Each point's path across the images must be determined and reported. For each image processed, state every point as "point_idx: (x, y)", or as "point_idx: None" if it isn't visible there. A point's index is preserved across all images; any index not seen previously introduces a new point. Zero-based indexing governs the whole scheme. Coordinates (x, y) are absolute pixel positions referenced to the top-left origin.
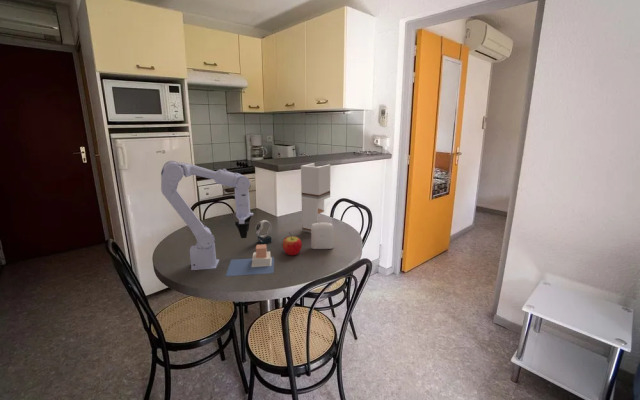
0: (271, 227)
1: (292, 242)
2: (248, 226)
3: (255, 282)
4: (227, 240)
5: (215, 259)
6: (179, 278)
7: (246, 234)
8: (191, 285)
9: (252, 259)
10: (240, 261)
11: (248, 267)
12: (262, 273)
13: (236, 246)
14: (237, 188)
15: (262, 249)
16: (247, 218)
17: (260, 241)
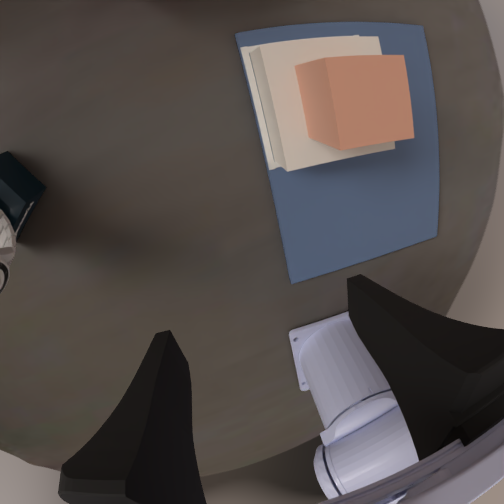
0: None
1: None
2: (162, 369)
3: (471, 103)
4: (72, 379)
5: (350, 337)
6: None
7: (387, 290)
8: (448, 309)
9: (391, 147)
10: (312, 228)
11: (379, 160)
12: (430, 77)
13: (111, 327)
14: None
15: (401, 83)
16: (161, 474)
17: (23, 221)
